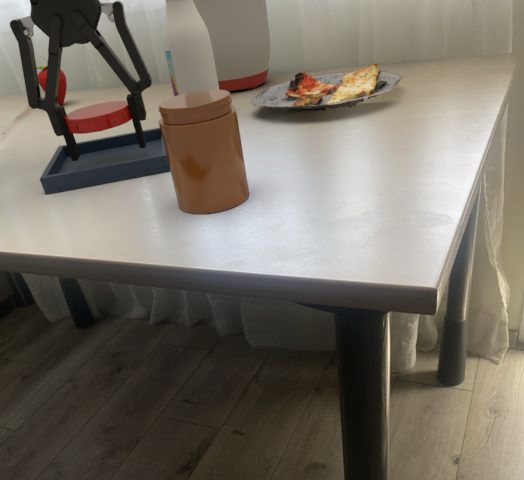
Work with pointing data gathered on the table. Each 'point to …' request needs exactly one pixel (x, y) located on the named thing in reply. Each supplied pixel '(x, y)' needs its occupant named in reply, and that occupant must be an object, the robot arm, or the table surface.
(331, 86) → the food plate
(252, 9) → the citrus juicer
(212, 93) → the jar
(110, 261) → the table surface
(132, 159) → the tray
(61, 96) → the strawberry
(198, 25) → the milk bottle
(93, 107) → the lid
